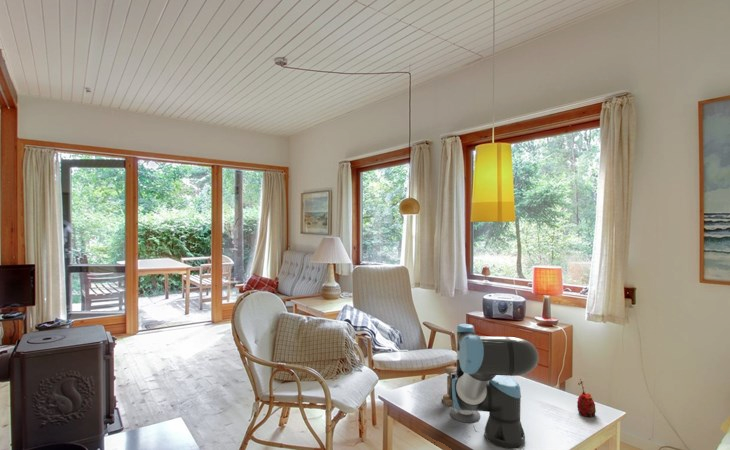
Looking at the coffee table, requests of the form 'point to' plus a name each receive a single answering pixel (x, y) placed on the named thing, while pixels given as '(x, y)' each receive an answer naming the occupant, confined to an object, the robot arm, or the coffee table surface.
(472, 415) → the pad
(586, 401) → the red bumpy oval
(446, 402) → the doorknob
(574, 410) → the coffee table surface
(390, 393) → the coffee table surface
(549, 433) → the coffee table surface
